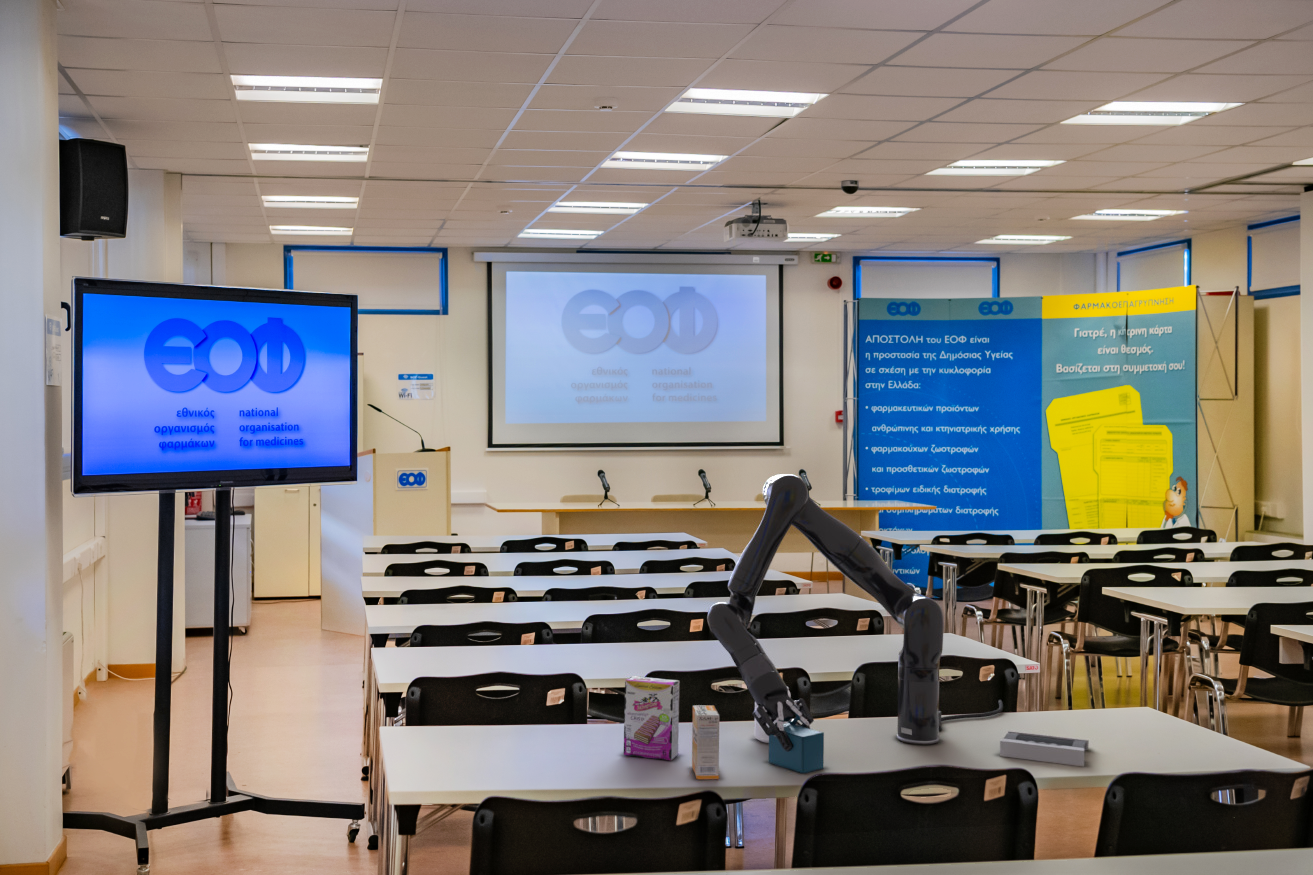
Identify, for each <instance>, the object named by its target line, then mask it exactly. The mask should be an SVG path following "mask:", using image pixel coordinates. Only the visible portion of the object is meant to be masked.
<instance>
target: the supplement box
mask: <svg viewBox="0 0 1313 875" xmlns="http://www.w3.org/2000/svg"><path fill="white" fill-rule="evenodd" d="M691 731H692V733H691V738H692V739H691V768H692V770H693V772H694V775H695V778H696V780H719V778H720V713H719V712H718V710H717V708H716V707H715V705H713V704H712V705H702V704H701V705H700V704H698V705H697V704H696V705H695V704H694V705H692V729H691Z"/></svg>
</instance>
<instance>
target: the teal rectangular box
mask: <svg viewBox="0 0 1313 875" xmlns="http://www.w3.org/2000/svg"><path fill="white" fill-rule="evenodd" d="M783 727H784V730H783V731H786V733H787V735H788V736H789V738H790V740H791V742H792V743H793V748H792V749H791V750H790V751H785V749H784V748H783V747H782V746H781V744H780V742H779V740H778V739H777V737H775V736H774V735H770V736H769V743H768V763H769V764H772V765H774V766H778V767H781V768H785V769H788V770H790V771H794V772H797V773H799V774H802V775H803V774H807V773H811V772H814V771H819V770H823V769H824V761H825V760H824V757H825V756H824V753H825V746H824V745H825V739H824V738H825V732H823V731H819V730H816V729H814V728H810V729H809V728H806V727H802V726H799V725H791V724H789V723H787V724H783Z"/></svg>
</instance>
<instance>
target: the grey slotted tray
mask: <svg viewBox="0 0 1313 875" xmlns="http://www.w3.org/2000/svg"><path fill="white" fill-rule="evenodd" d="M1089 741H1090V740H1088V739H1083V738H1082V739H1081V738H1072V737H1066V736H1065V737H1064V736H1054V735H1047V734H1040V733H1039V734H1038V733H1030V732H1022V731H1012V730H1008V731H1007V733H1005V736H1004V737H1003V738H1000V740H999V756H1000V757H1006V758H1014V759H1020V760H1027V761H1028V760H1030V761H1037V762H1044V763H1054V764H1061V765H1069V766H1077V767H1085V754H1086V751H1089V749H1090V748H1089V745H1090V744H1089V743H1090V742H1089Z"/></svg>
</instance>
